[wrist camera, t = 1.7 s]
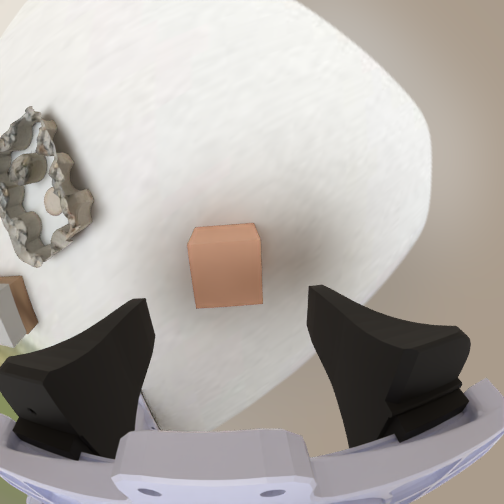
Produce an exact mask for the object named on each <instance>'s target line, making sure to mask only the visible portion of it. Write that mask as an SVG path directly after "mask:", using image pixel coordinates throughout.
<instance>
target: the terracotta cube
mask: <svg viewBox="0 0 504 504" xmlns="http://www.w3.org/2000/svg"><path fill="white" fill-rule="evenodd" d="M187 248H188V256H189V263H190V270H191V277H192V284H193V291H194V297H195V304H196V309H197V308H214V307H228V306H242V305H254V304H263V296H262V268H261V242H260V237H259V235H258V232H257V230H256V228H255V225H254V223H247V224H233V225H219V226H207V227H195V229H194V231H193V233H192V235H191V237H190V240H189V242H188V244H187Z"/></svg>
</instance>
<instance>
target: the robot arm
mask: <svg viewBox="0 0 504 504" xmlns="http://www.w3.org/2000/svg"><path fill="white" fill-rule="evenodd" d="M307 327H308V331H309V334H310V337H311V341H312V343H313V345H314V348H315V350H316V352H317V354H318V356H319V358H320V360H321V362H322V364H323V366H324V368H325V370H326V373H327V375H328V377H329V379H330V381H331V384H332V386H333V389H334V392H335V396H336V399H337V402H338V405H339V409H340V412H341V416H342V419H343V423H344V427H345V431H346V435H347V439H348V444H349V449H346V450H342V451H339V452H335V453H331V454H326V455H322V456H317V457H312V458H309V454H308V451H307V447H306V444H305V441H304V439H303V437H302V436H301V435H298V434H295V433H292V432H289V431H286V430H284V429H249V430H234V431H209V432H185V431H161V430H159V428H158V426H157V424H156V422H155V421H154V419H153V417H152V415H151V413H150V411H149V409H148V407H147V405H146V403H145V400H144V398H143V396H142V394H141V388H142V385H143V382H144V379H145V376H146V373H147V369H148V366H149V363H150V360H151V357H152V353H153V348H154V341H155V333H154V329H153V326H152V322H151V318H150V314H149V310H148V306H147V302H146V298H142V299H132V300H130V301H128V302H127V303H125V304H124V305H122V306H121V307H119V308H118V309H116V310H115V311H114V312H112V313H111V314H109V315H108V316H107V317H105V318H104V319H102V320H101V321H99V322H98V323H96V324H95V325H93V326H92V327H90V328H88V329H87V330H85V331H83V332H82V333H80V334H78V335H76V336H74V337H72V338H70V339H68V340H66V341H63V342H61V343H58V344H56V345H54V346H51V347H48V348H45V349H42V350H39V351H35V352H31V353H27V354H22V355H17V356H10V357H8V358H7V359H6V360H5V362H4V363H3V364H2V366H1V367H0V392H1V393H2V395H3V396H4V398H5V399H6V400H7V402H8V403H9V404H10V406H11V407H12V409H13V410H14V411H15V413H16V414H17V415H18V416H19V418H18V420H17V422H15V421H14V420H13V419H11V418H10V417H8V416H6V415H3V414H1V413H0V476H1V477H2V478H3V479H4V480H6V481H7V482H8V483H9V484H11V485H12V486H14V487H15V488H17V489H19V490H20V491H22V492H24V493H26V494H27V495H28V497H27V500H26V503H27V504H409V503H411V502H413V501H415V500H417V499H418V498H420V497H422V496H424V495H425V494H427V493H429V492H430V491H432V490H434V489H436V488H437V487H439V486H440V485H442V484H444V483H445V482H447V481H448V480H450V479H451V478H453V477H454V476H456V475H457V474H458V473H460V472H461V471H463V470H464V469H466V468H467V467H469V466H470V465H471V464H473V463H474V462H475V461H477V460H478V459H479V458H480V457H482V456H483V455H484V454H486V453H487V452H488V451H489V449H490V448H492V446H493V445H494V444H495V443H496V442H497V441H498V440H499V439H500V438H501V437H502V435H503V434H504V397H503V395H502V394H501V393H500V392H499V391H498V390H497V389H496V387H495V386H494V385H493V384H492V383H491V382H490V381H489V380H488V379H487V378H485V379H483V380H481V381H480V382H478V383H476V384H475V385H473V386H471V387H470V388H468V389H467V390H466V391H465V392H464V393H463V392H462V391H461V390H460V389H459V388H460V387H461V386H462V382H461V381H460V380H459V379H458V376H459V374H460V372H461V370H462V368H463V366H464V364H465V362H466V360H467V357H468V355H469V351H470V345H471V343H470V339H469V337H468V336H467V335H466V334H465V333H464V332H463V331H462V330H460V329H459V328H458V327H457V326H441V325H440V326H439V325H429V324H421V323H415V322H410V321H406V320H401V319H397V318H394V317H390V316H387V315H384V314H382V313H379V312H376V311H374V310H371V309H369V308H367V307H365V306H362V305H360V304H358V303H356V302H354V301H352V300H350V299H348V298H347V297H345V296H343V295H341V294H339V293H337V292H336V291H334V290H332V289H330V288H328V287H326V286H324V285H316V286H309V292H308V311H307Z"/></svg>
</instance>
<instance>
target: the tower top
mask: <svg viewBox="0 0 504 504" xmlns="http://www.w3.org/2000/svg"><path fill="white" fill-rule="evenodd" d="M26 333H27V332H26V330H25V327H24V325H23V322H22V320H21V317H20V315H19V312H18V310H17V307H16V304H15V302H14V299H13V296H12V293H11V290H10V287H9V284H0V345H4V346H9V347H13V348H14V347H15V346H16V345H17V344H18V342H19V341H20V340H21V339H22V338H23V337H24V335H25V334H26Z"/></svg>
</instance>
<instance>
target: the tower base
mask: <svg viewBox="0 0 504 504" xmlns="http://www.w3.org/2000/svg"><path fill="white" fill-rule="evenodd" d="M0 284H9V287H10V290H11V293H12V296H13V299H14V302H15V304H16V307H17V310H18V312H19V315H20V317H21V320H22V322H23V325H24V327H25V330H26V332H27V333H26V334H29V333H30V331H31V330H32V329H33V328H34V327H35V326H36V325H37V324H38V320H37V318H36V315H35V313H34V310H33V307H32V305H31V302H30V299H29V296H28V293H27V291H26V288H25V284H24V281H23V278H22V276H8V277H0Z"/></svg>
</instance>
